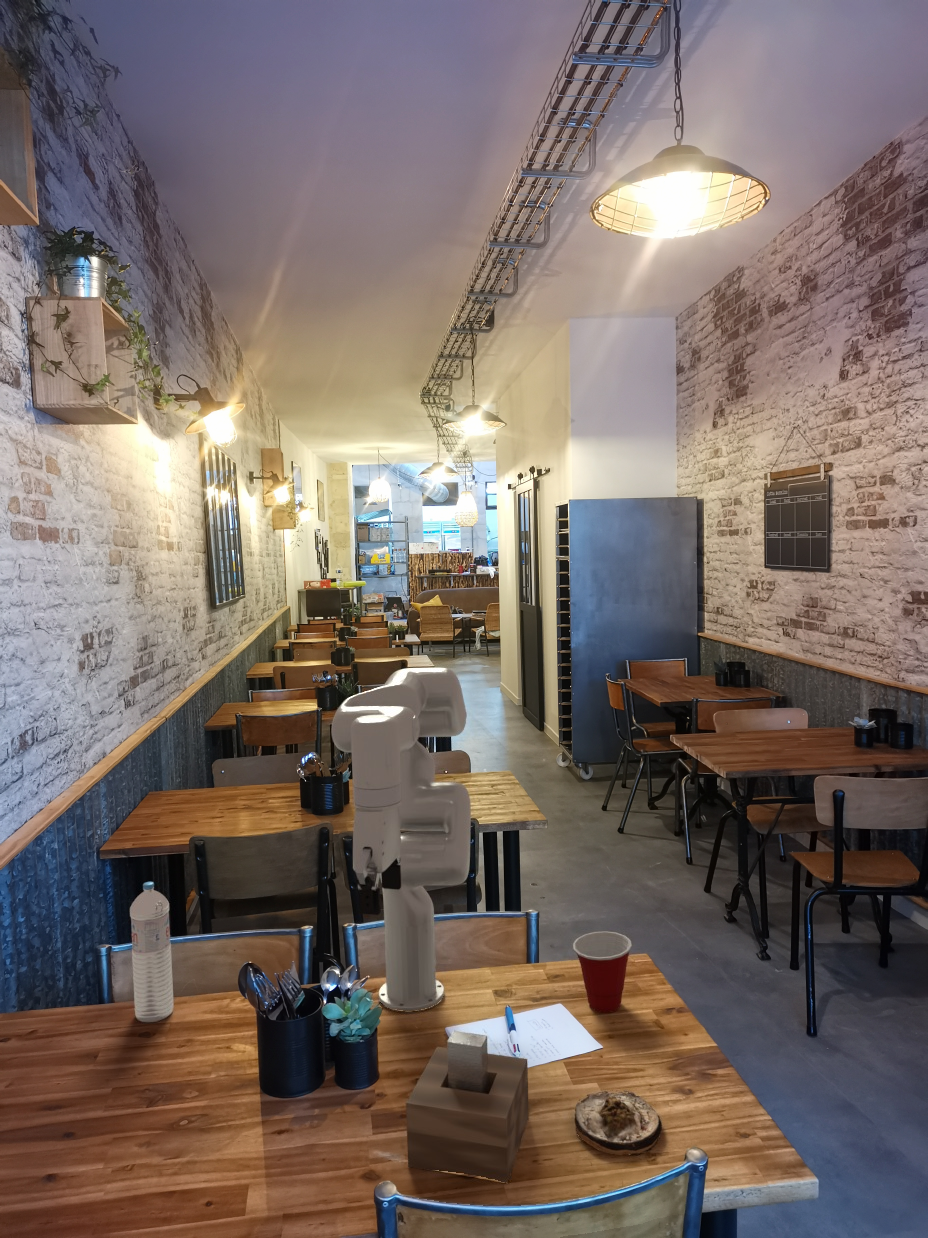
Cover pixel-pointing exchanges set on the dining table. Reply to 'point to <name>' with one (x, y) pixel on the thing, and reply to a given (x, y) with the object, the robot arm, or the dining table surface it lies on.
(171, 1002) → the water bottle
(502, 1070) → the wooden slotted box
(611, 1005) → the plastic cup
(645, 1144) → the sushi roll
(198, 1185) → the dining table surface
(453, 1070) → the gray rectangular block
